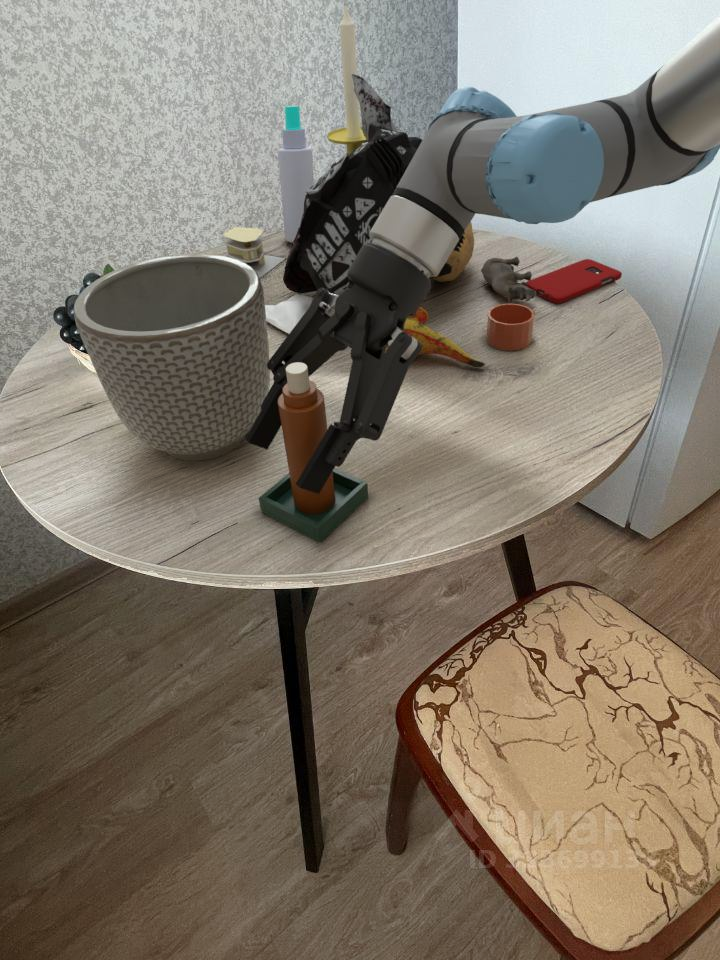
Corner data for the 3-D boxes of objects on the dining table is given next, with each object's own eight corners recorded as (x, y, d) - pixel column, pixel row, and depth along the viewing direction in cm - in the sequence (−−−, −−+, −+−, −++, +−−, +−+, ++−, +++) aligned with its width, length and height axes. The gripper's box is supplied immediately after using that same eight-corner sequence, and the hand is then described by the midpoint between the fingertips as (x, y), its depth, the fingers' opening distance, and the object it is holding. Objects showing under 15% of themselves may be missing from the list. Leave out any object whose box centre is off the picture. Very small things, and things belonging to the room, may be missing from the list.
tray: (368, 497, 75) (367, 482, 74) (320, 543, 70) (318, 528, 69) (310, 470, 79) (308, 456, 78) (261, 512, 74) (258, 497, 73)
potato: (404, 292, 111) (403, 235, 105) (433, 254, 122) (434, 200, 116) (456, 299, 108) (458, 240, 102) (482, 259, 119) (485, 203, 113)
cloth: (232, 330, 105) (229, 316, 104) (276, 291, 115) (274, 278, 113) (392, 357, 96) (391, 343, 95) (425, 313, 106) (425, 299, 104)
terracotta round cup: (538, 335, 99) (541, 310, 96) (518, 355, 95) (521, 328, 93) (499, 325, 102) (501, 299, 99) (478, 343, 98) (480, 317, 96)
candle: (360, 243, 128) (345, -4, 103) (401, 256, 122) (395, -2, 98) (321, 261, 122) (295, 6, 98) (362, 276, 117) (345, 9, 93)
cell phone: (558, 299, 105) (557, 305, 105) (624, 271, 110) (623, 277, 111) (521, 282, 110) (521, 287, 110) (587, 256, 115) (586, 262, 116)
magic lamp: (484, 336, 98) (479, 406, 94) (357, 324, 99) (347, 393, 95) (491, 307, 92) (487, 381, 88) (356, 295, 93) (345, 368, 89)
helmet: (245, 264, 89) (407, 70, 83) (220, 225, 110) (347, 69, 104) (380, 382, 102) (527, 222, 97) (335, 327, 124) (453, 194, 118)
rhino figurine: (543, 313, 105) (505, 317, 104) (509, 274, 115) (475, 277, 114) (547, 287, 102) (509, 291, 101) (513, 250, 112) (477, 253, 111)
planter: (114, 414, 90) (64, 275, 78) (260, 377, 95) (235, 239, 83) (135, 508, 76) (79, 356, 64) (306, 458, 81) (284, 307, 68)
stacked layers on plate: (211, 271, 123) (204, 240, 119) (239, 251, 129) (234, 221, 125) (259, 278, 119) (253, 247, 115) (285, 258, 125) (281, 227, 121)
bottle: (338, 487, 76) (323, 355, 65) (332, 515, 72) (316, 381, 62) (298, 486, 76) (277, 355, 66) (290, 513, 73) (267, 380, 62)
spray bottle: (308, 244, 126) (299, 106, 115) (279, 242, 129) (267, 107, 118) (323, 237, 131) (315, 105, 120) (295, 236, 133) (285, 106, 122)
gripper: (502, 315, 61) (370, 529, 65) (355, 248, 75) (251, 429, 78) (461, 277, 56) (318, 514, 59) (309, 212, 69) (199, 408, 72)
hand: (280, 465), depth 68 cm, fingers open, 8 cm apart
